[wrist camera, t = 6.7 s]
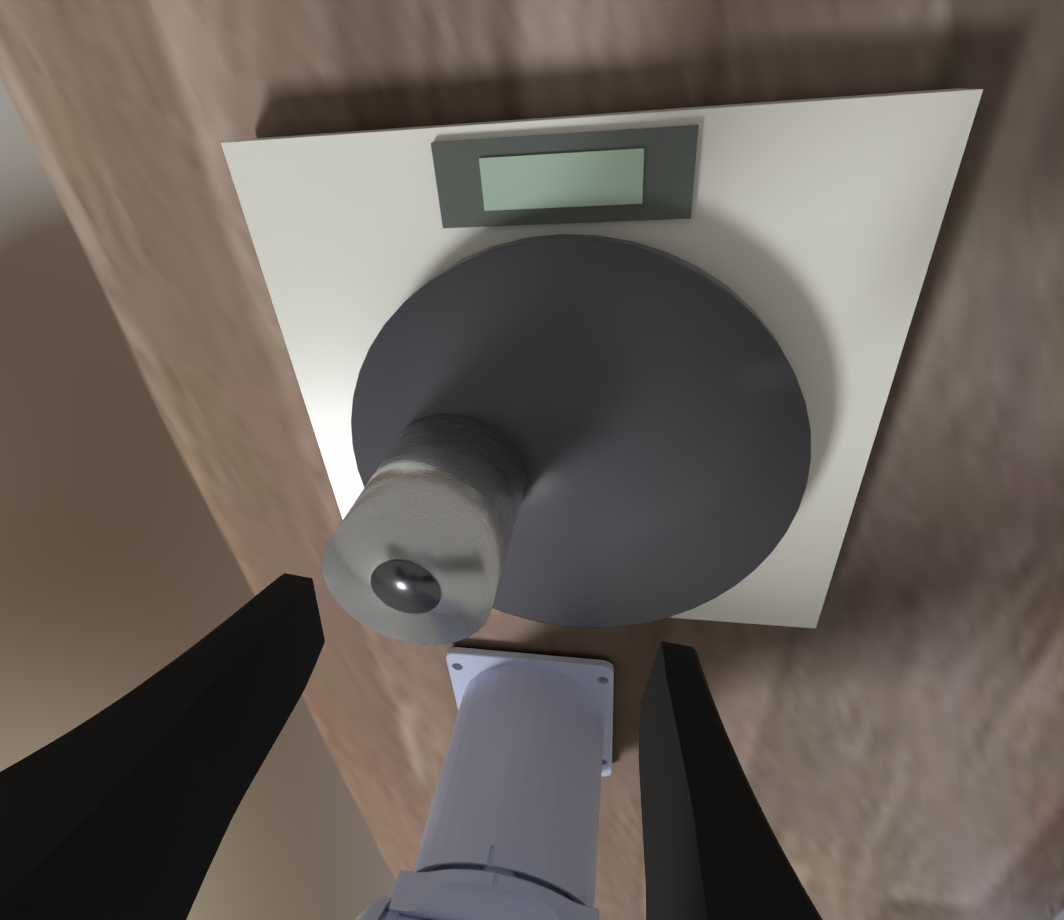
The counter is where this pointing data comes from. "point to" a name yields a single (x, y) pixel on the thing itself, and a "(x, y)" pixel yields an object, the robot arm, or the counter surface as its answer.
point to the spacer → (429, 532)
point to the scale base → (644, 217)
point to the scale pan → (603, 420)
